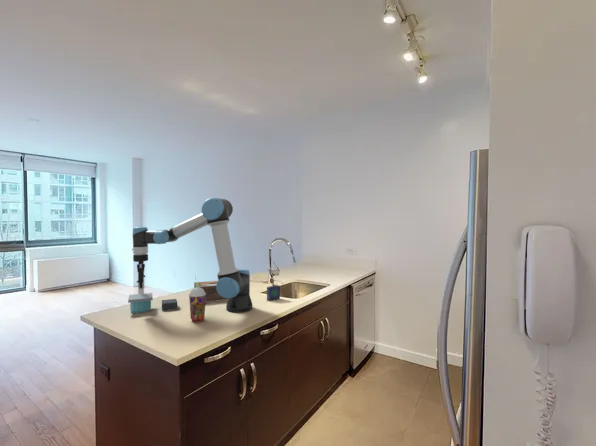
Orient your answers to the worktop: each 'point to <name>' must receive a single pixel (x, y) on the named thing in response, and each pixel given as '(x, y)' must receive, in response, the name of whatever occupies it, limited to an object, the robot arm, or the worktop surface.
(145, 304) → the bowl
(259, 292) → the worktop surface
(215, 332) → the worktop surface
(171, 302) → the dark grey square block
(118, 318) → the worktop surface
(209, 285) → the tissue box cover
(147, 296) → the grey flat square slab
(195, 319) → the smoothie
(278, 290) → the blue box
